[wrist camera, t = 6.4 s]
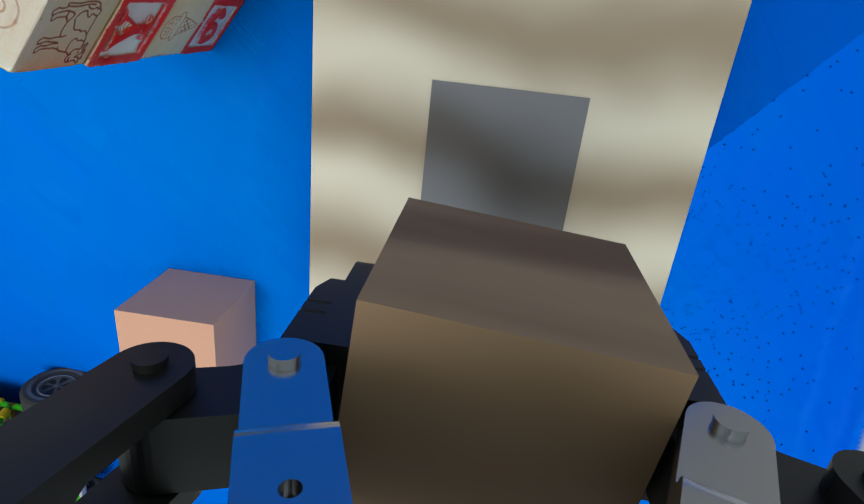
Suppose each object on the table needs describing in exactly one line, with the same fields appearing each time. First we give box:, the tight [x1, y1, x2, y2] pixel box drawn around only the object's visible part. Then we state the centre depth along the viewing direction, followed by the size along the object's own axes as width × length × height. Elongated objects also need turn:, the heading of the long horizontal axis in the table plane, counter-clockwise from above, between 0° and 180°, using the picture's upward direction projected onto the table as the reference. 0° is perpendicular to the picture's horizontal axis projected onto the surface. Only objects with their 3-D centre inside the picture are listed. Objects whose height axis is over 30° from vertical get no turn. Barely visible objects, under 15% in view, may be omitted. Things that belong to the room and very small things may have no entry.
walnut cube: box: [338, 197, 699, 504], centre depth 11 cm, size 5×5×5 cm
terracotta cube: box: [114, 268, 256, 368], centre depth 30 cm, size 5×5×5 cm
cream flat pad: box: [310, 0, 752, 305], centre depth 26 cm, size 18×18×1 cm
